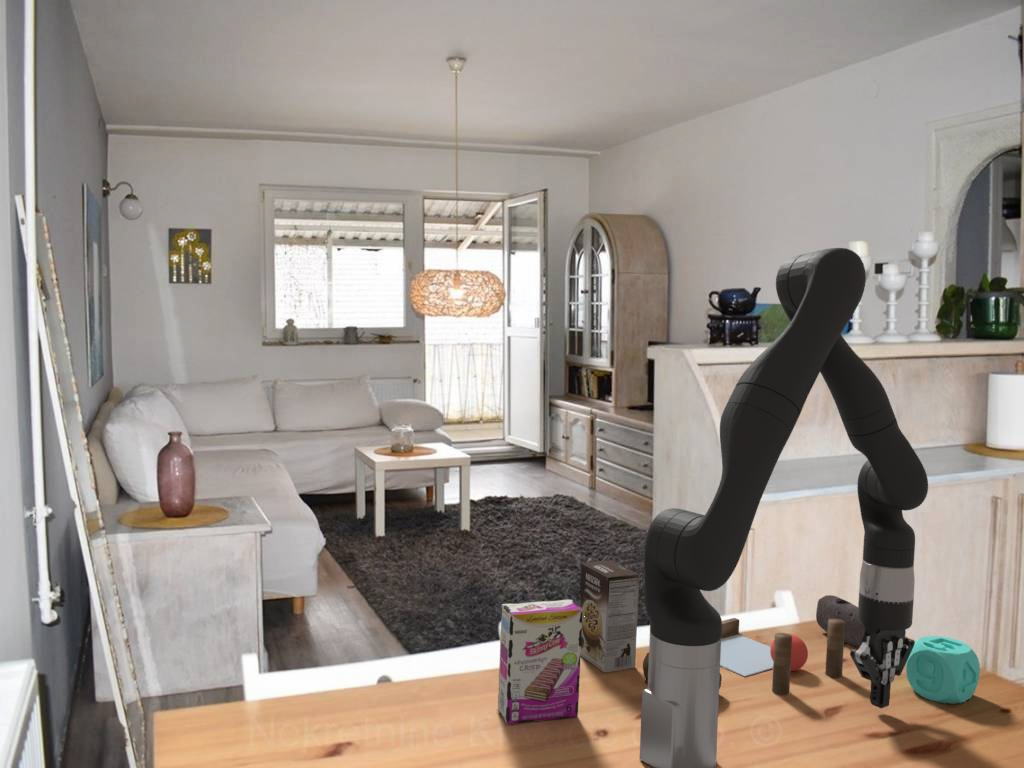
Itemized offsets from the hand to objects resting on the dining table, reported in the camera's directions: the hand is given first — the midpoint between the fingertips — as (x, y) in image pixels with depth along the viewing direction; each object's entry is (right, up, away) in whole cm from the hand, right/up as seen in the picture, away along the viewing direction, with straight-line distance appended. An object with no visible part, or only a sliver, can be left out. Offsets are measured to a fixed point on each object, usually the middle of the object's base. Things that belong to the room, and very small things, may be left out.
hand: (879, 705), depth 140 cm
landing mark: (-15, +1, +22) cm, 27 cm away
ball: (-9, +3, +16) cm, 18 cm away
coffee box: (-39, +1, +18) cm, 43 cm away
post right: (-2, 0, +14) cm, 15 cm away
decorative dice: (+13, -1, +8) cm, 15 cm away
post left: (-13, 0, +7) cm, 15 cm away
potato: (-29, -1, +4) cm, 29 cm away
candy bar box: (-51, -1, -3) cm, 51 cm away
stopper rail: (-20, +2, +29) cm, 36 cm away
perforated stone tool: (+6, +1, +30) cm, 30 cm away
